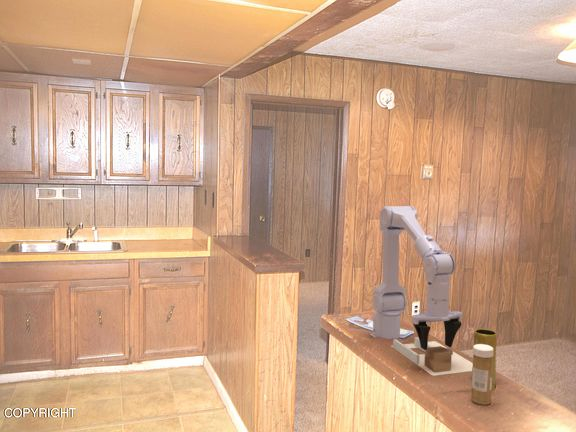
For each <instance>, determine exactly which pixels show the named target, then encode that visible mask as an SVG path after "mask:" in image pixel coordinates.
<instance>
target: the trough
mask: <svg viewBox="0 0 576 432" xmlns="http://www.w3.org/2000/svg"><path fill="white" fill-rule="evenodd" d="M392 340H393V341H392V343H393V344H392V346H393V347H392V348H393V349H394V348H395V349H394V350H395V351H397V352H398V353H400V354H401V353H402V354H401V355H403V356H404V357H405V358H407V359H408V358H409V359H408V360H409V361H411V362H413V363H414V364H415V363H416V365H417V364H419V355H420V354H418V353H417V352H415V351H414V350H413V349H412V348H408V347H407V346H405V345H404V344H403V343H402V342H400V341H399V340H398V339H392ZM413 343H414V345H415V346H416V347H418V348H417V349H419V350H420V351H422V352H423V353H425V350H424V349H422V348H421V346H420V341H419V337H418V336H417V337H416V336H415V337H414V342H413ZM428 347H432V346H431V345H429V344H428ZM428 347H427V348H428Z"/></svg>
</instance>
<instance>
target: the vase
mask: <svg viewBox="0 0 576 432" xmlns="http://www.w3.org/2000/svg"><path fill="white" fill-rule="evenodd" d="M473 333H474V334H473V335H474V336H473V346H474V345H476V344H485V345H489V346H491V347H493V349H494V353H493V358H492V389H491V391H494V390H496V389H497V385H496V381H497V379H496V378H497V377H496V376H497V375H496V374H497V373H496V371H497V369H496V368H497V365H496V364H497V335H498V333H497V331H495V330H493V329H489V328H477V329H474V332H473ZM472 356H473V355H472ZM473 357H474V356H473ZM472 374H473V366H472V371H471V375H472ZM471 380H472V376H471Z"/></svg>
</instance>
